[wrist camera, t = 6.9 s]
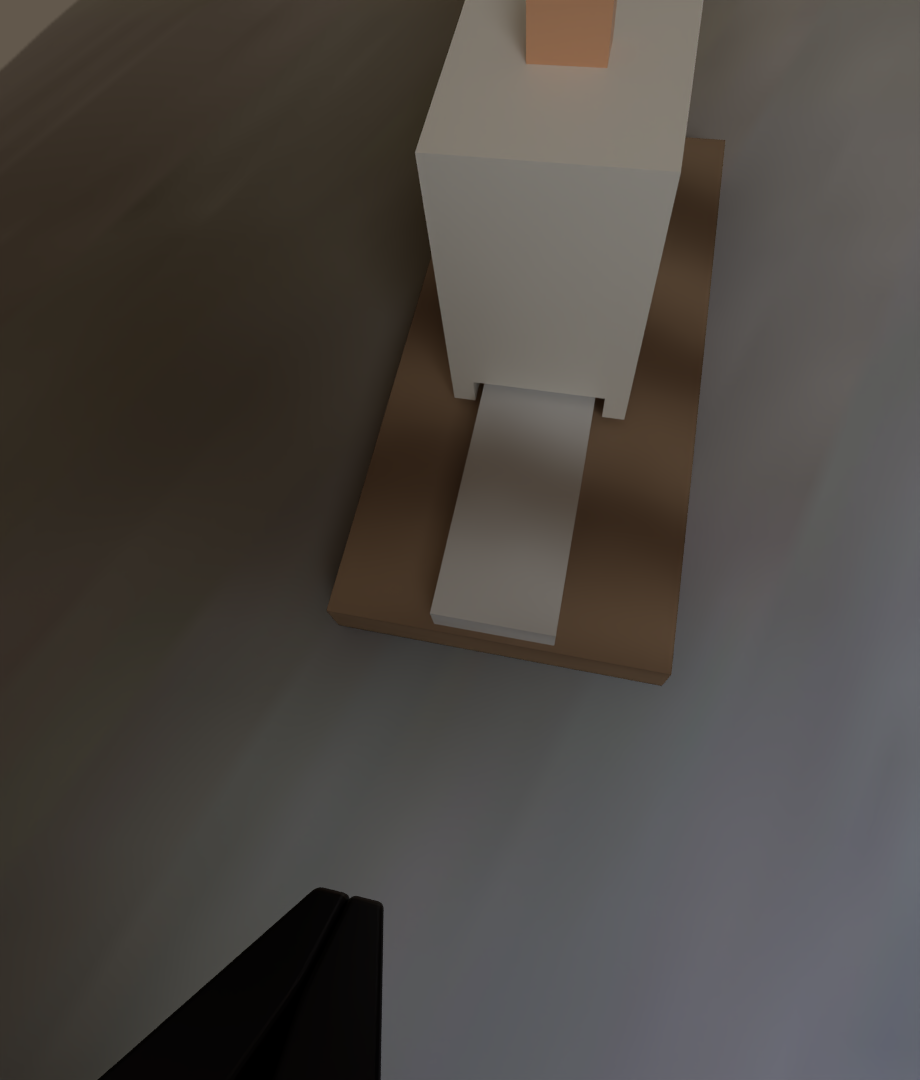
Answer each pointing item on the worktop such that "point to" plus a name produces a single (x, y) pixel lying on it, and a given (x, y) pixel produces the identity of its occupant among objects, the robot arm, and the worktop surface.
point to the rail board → (542, 488)
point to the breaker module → (555, 187)
